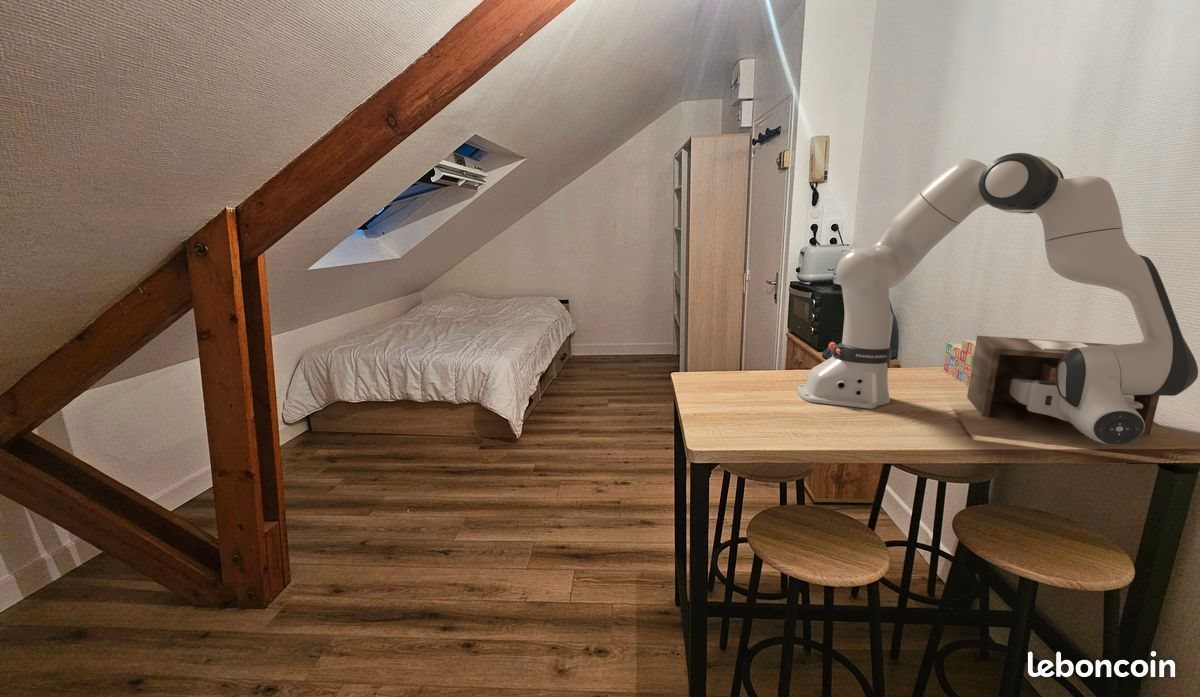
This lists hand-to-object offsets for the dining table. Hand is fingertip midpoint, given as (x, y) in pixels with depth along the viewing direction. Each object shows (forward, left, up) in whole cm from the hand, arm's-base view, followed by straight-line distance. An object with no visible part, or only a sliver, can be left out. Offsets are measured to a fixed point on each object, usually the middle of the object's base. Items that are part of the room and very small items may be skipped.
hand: (1055, 384), depth 121 cm
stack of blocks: (-3, +30, -9) cm, 31 cm away
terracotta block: (0, -1, -5) cm, 6 cm away
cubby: (0, 0, -8) cm, 8 cm away
